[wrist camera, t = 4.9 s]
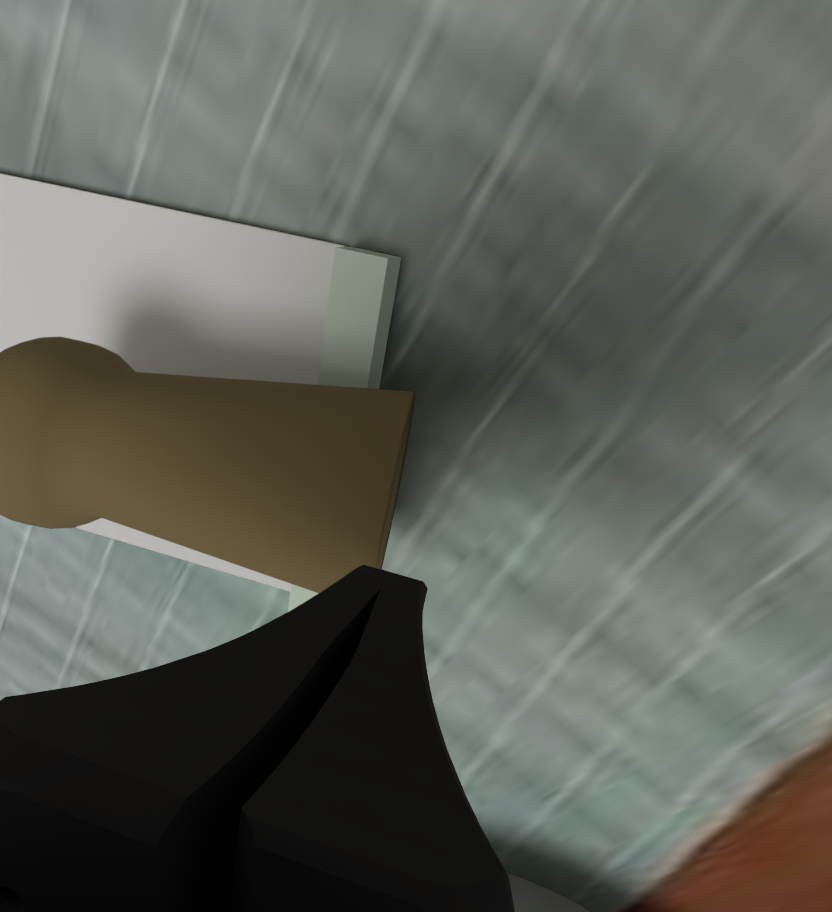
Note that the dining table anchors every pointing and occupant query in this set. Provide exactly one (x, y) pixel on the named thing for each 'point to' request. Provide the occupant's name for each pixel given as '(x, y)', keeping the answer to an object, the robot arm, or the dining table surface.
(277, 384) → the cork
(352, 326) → the kerb
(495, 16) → the dining table surface
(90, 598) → the dining table surface
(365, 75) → the dining table surface
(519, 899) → the cake pan
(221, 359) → the mat
